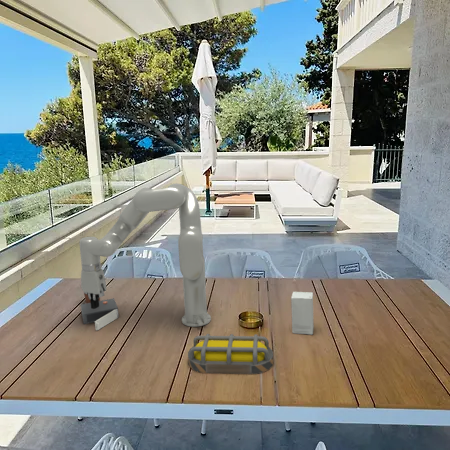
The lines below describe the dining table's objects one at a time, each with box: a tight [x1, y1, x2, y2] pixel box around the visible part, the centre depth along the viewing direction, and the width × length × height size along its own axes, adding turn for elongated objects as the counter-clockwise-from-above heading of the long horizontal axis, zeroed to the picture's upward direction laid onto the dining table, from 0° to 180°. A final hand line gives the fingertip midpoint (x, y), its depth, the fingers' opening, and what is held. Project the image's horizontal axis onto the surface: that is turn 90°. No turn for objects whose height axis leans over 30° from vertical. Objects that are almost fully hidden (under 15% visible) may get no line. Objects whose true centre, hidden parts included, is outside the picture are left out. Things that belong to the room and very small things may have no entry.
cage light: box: [187, 333, 274, 375], centre depth 140 cm, size 15×8×30 cm
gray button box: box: [80, 298, 120, 325], centre depth 182 cm, size 14×15×5 cm
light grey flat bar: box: [94, 308, 120, 331], centre depth 172 cm, size 2×13×4 cm, turn 153°
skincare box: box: [290, 291, 315, 335], centre depth 158 cm, size 8×7×16 cm
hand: (95, 307), depth 170 cm, fingers closed
